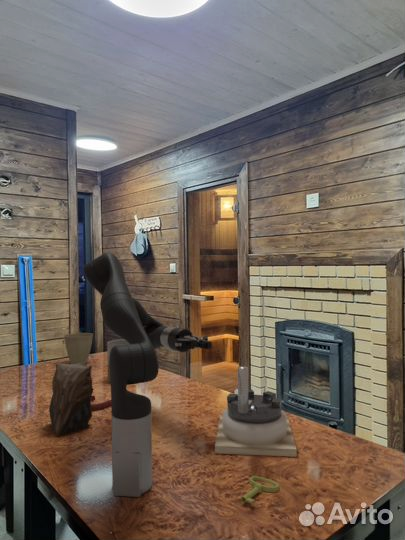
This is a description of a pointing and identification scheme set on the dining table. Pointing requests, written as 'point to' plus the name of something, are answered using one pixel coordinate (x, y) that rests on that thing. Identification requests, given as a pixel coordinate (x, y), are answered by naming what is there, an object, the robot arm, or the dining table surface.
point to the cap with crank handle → (252, 403)
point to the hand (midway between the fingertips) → (209, 345)
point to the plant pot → (78, 347)
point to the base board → (276, 449)
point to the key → (259, 488)
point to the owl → (71, 398)
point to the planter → (109, 347)
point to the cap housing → (255, 430)
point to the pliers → (99, 406)
